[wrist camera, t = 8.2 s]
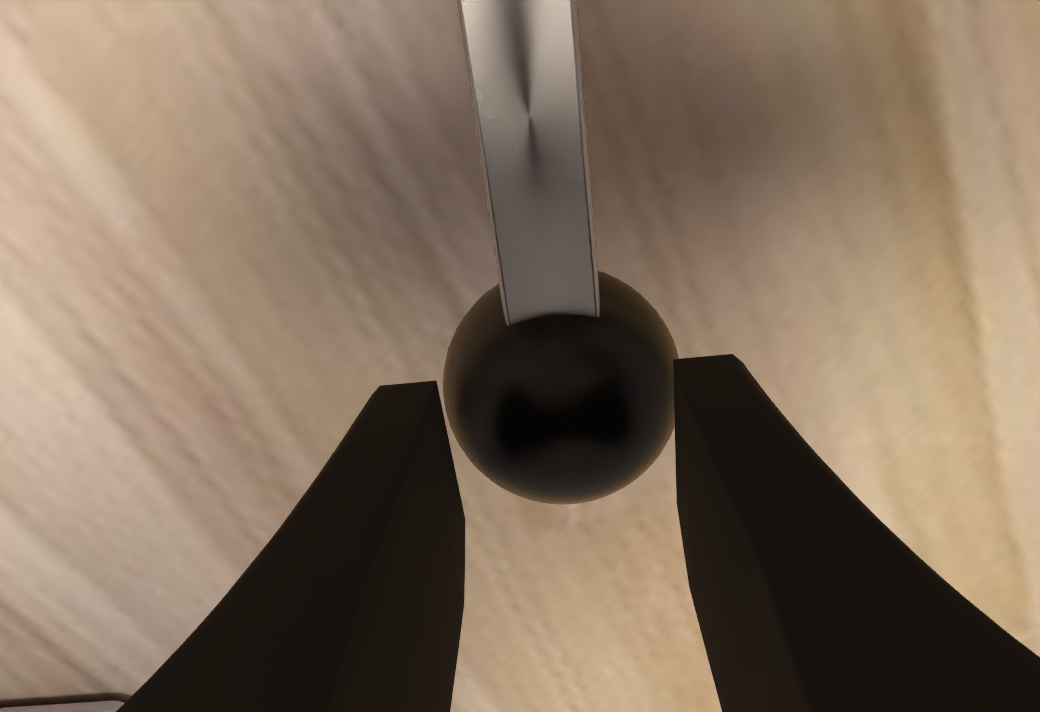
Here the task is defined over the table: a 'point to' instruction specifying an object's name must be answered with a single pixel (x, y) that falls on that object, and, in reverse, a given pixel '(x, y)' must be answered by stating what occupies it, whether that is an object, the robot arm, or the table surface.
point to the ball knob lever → (549, 282)
